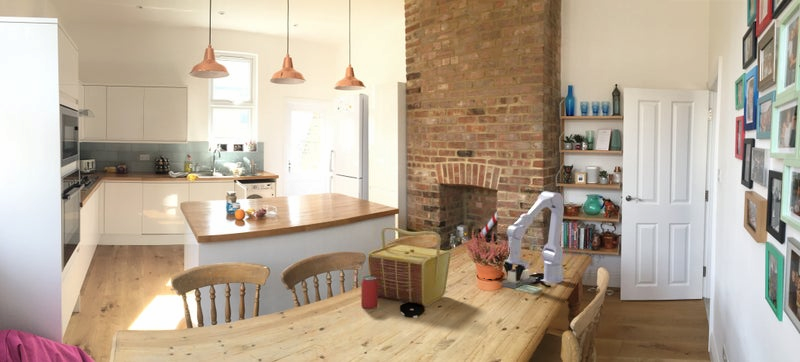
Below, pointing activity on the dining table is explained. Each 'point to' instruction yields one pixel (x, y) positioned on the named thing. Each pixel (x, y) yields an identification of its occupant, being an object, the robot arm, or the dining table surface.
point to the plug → (512, 276)
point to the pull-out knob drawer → (525, 274)
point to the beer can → (369, 292)
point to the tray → (528, 289)
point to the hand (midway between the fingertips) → (513, 279)
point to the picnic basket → (410, 270)
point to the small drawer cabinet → (521, 283)
